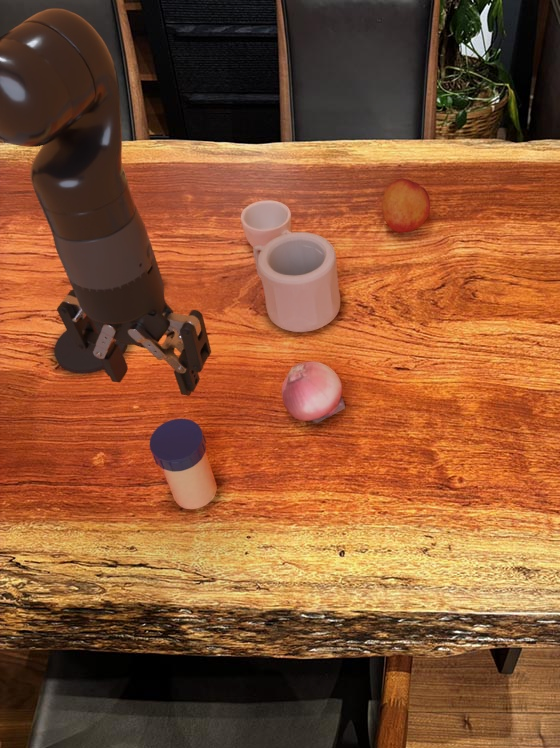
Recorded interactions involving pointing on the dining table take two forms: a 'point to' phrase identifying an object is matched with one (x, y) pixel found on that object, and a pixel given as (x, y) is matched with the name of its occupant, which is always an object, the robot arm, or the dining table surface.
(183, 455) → the jar lid
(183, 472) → the jar
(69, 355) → the trivet
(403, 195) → the fruit
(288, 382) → the onion
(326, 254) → the mug
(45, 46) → the robot arm
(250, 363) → the dining table surface
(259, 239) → the teacup
